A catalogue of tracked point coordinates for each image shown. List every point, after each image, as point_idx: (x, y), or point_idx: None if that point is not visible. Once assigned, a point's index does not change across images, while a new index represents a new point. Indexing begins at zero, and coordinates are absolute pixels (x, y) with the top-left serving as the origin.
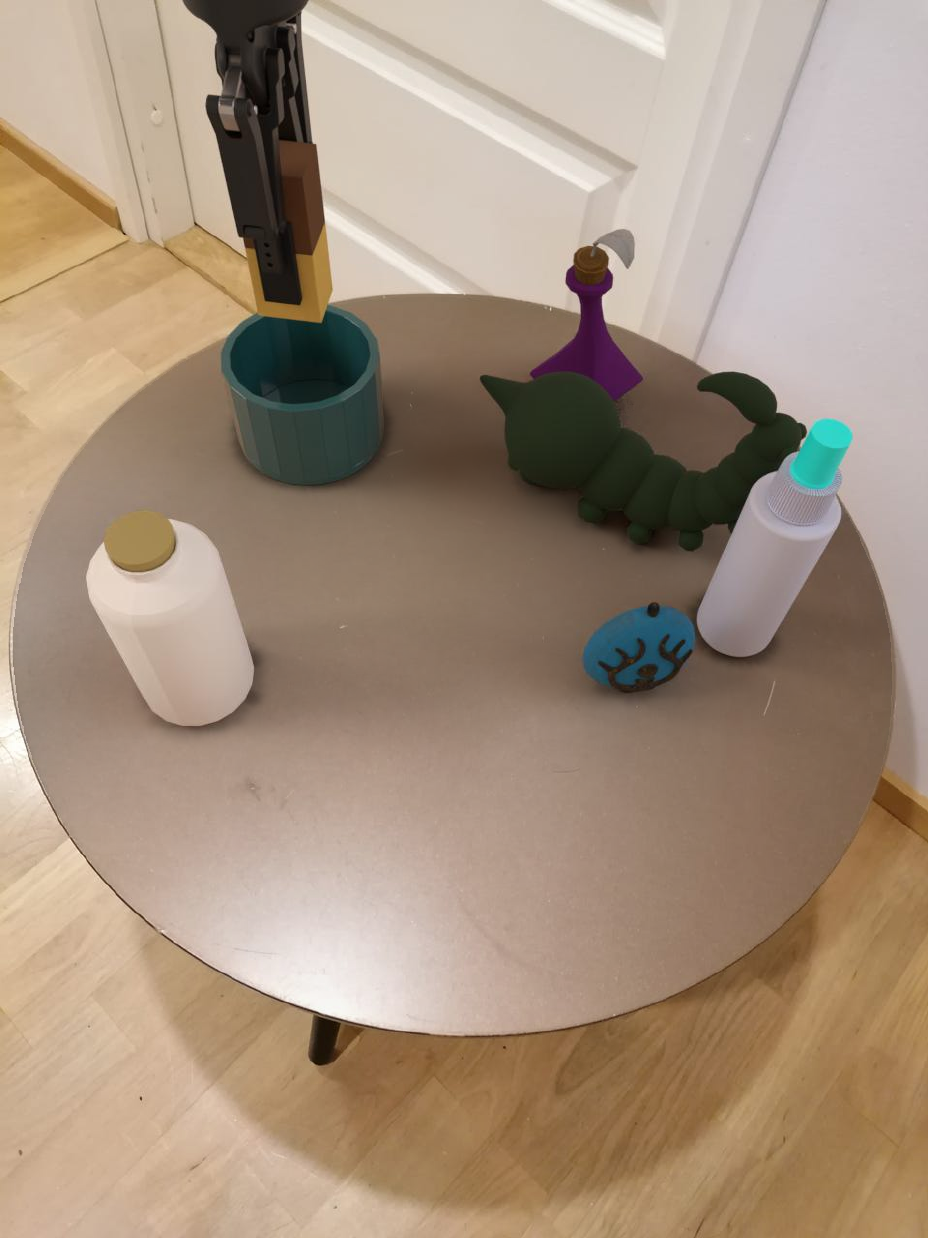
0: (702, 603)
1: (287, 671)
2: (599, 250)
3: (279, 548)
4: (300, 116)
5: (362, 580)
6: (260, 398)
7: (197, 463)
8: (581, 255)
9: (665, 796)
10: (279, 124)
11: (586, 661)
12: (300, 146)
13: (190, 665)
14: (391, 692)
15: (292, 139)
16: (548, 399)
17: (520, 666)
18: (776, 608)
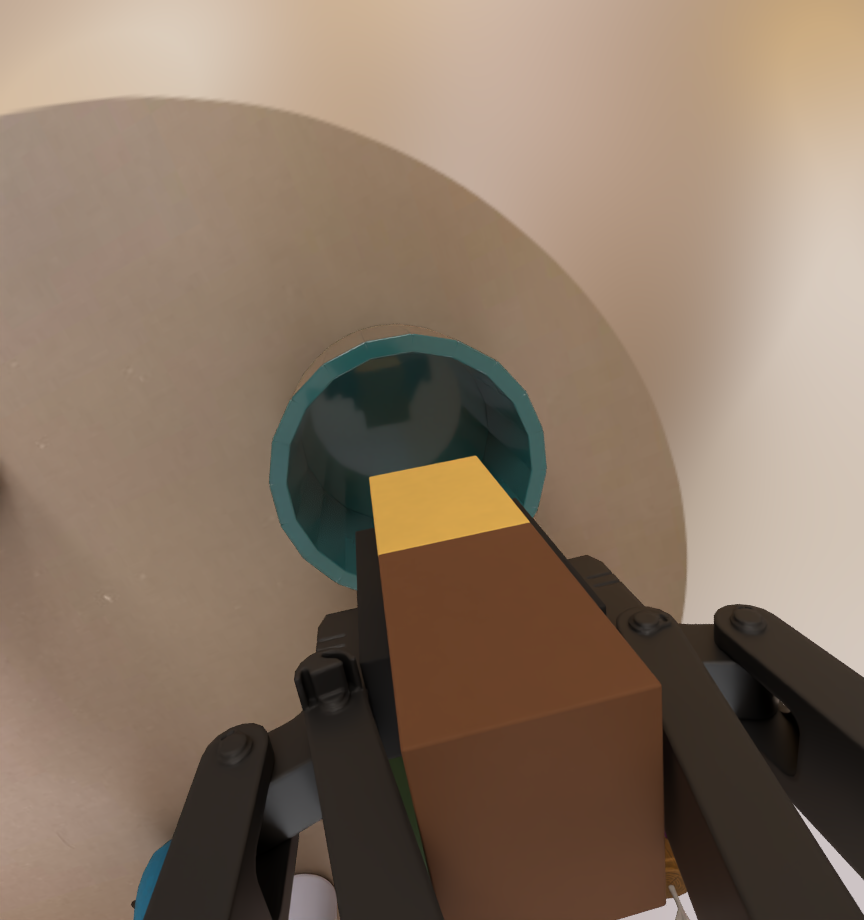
0: (292, 902)
1: (9, 569)
2: (684, 890)
3: (180, 478)
4: (815, 814)
5: (184, 590)
6: (284, 462)
7: (271, 297)
8: (669, 873)
9: (88, 908)
10: (703, 883)
11: (144, 875)
12: (635, 879)
13: None
14: (53, 678)
15: (672, 839)
16: (418, 843)
17: (159, 769)
18: None
